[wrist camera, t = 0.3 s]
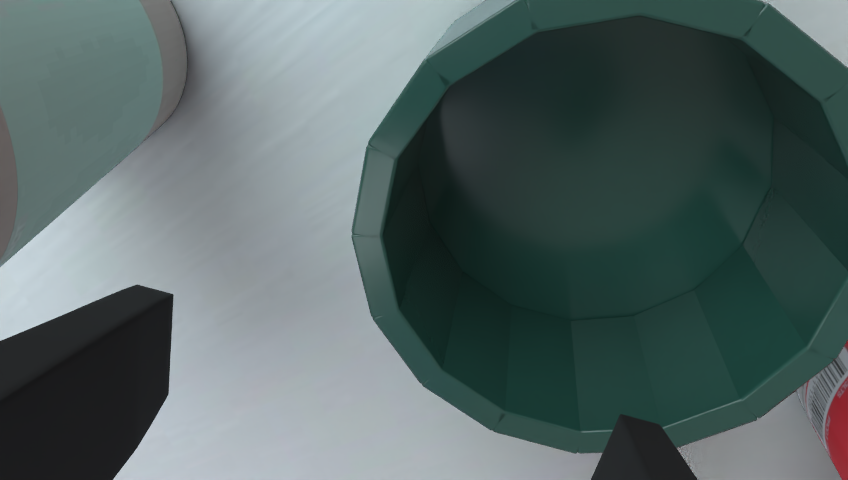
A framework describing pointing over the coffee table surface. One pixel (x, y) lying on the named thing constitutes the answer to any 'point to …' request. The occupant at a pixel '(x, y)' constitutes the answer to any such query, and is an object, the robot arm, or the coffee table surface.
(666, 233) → the pot
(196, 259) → the coffee table surface
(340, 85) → the coffee table surface
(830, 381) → the pill bottle
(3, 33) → the coffee cup
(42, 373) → the robot arm
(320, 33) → the coffee table surface
